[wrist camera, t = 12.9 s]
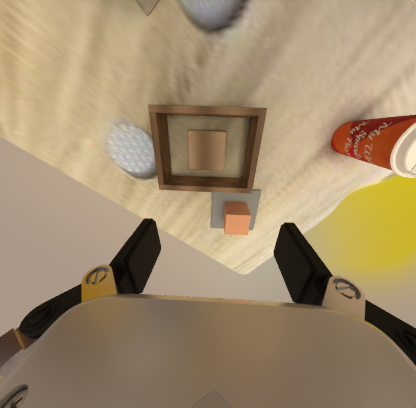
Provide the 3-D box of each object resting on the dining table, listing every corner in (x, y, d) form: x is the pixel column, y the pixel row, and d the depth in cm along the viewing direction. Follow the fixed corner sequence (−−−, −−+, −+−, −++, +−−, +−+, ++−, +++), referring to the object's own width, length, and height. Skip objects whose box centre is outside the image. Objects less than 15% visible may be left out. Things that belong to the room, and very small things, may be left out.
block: (246, 202, 36) (251, 215, 30) (243, 219, 38) (247, 235, 33) (224, 201, 36) (226, 214, 31) (223, 218, 38) (224, 233, 33)
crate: (257, 111, 28) (266, 108, 23) (245, 183, 34) (251, 193, 29) (160, 108, 28) (148, 104, 23) (167, 179, 35) (159, 189, 30)
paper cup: (326, 122, 28) (413, 120, 16) (373, 109, 27) (508, 95, 15) (323, 163, 32) (393, 187, 19) (365, 153, 30) (468, 172, 18)
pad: (260, 189, 35) (261, 191, 34) (252, 228, 40) (252, 229, 39) (212, 187, 35) (212, 189, 35) (211, 225, 40) (211, 227, 40)
